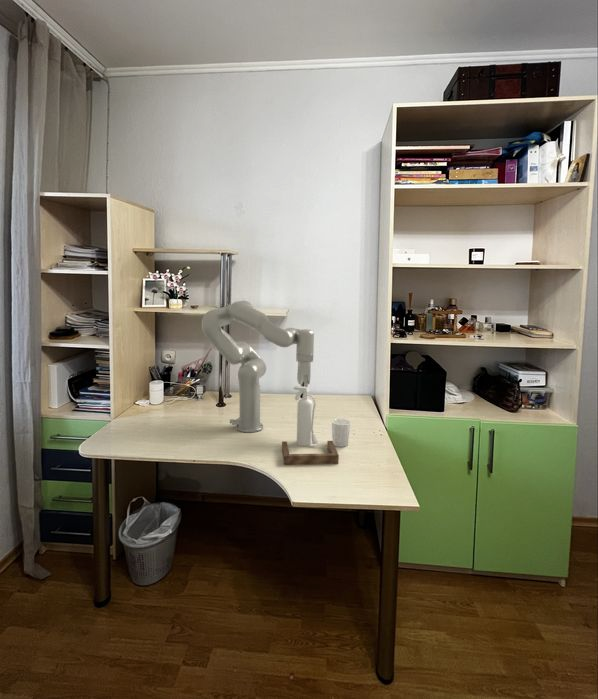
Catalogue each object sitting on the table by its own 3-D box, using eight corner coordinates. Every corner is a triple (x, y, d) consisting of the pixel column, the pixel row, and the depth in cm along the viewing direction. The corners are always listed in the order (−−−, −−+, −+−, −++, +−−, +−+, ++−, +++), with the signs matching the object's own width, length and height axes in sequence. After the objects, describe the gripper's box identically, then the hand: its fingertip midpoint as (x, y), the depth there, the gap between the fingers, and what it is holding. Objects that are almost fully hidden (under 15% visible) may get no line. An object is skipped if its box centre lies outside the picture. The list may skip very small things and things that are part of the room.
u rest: (284, 464, 176) (284, 456, 175) (281, 449, 190) (282, 441, 190) (338, 463, 178) (338, 455, 177) (331, 448, 192) (332, 440, 192)
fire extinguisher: (312, 449, 190) (313, 390, 187) (290, 443, 198) (290, 386, 194) (321, 445, 196) (323, 388, 192) (299, 439, 203) (300, 383, 200)
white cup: (348, 440, 202) (349, 418, 200) (350, 447, 194) (351, 425, 192) (330, 440, 201) (331, 418, 200) (332, 447, 194) (332, 424, 192)
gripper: (294, 354, 209) (293, 393, 212) (298, 361, 194) (297, 402, 197) (311, 354, 209) (309, 393, 213) (315, 361, 195) (314, 402, 198)
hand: (303, 397), depth 205 cm, fingers closed
